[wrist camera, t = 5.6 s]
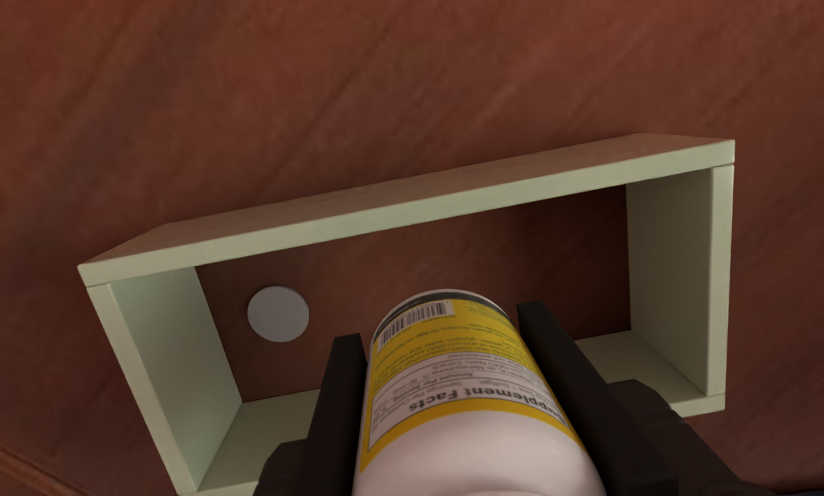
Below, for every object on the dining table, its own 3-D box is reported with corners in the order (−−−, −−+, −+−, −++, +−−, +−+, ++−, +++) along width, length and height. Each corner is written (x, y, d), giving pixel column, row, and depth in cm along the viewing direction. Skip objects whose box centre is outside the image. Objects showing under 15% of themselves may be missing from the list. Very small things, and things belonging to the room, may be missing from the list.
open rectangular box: (640, 132, 17) (736, 139, 12) (645, 340, 20) (725, 410, 15) (161, 224, 17) (74, 265, 13) (233, 417, 20) (184, 511, 15)
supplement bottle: (486, 435, 14) (594, 837, 6) (349, 397, 14) (279, 786, 6) (545, 310, 13) (774, 615, 5) (397, 262, 13) (394, 521, 5)
